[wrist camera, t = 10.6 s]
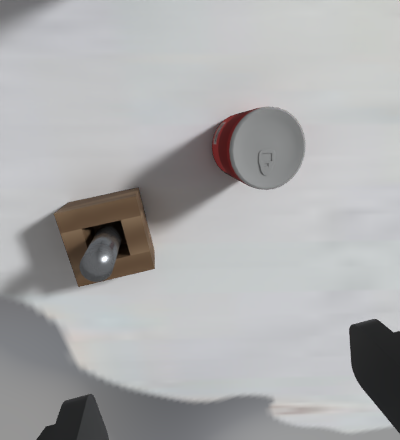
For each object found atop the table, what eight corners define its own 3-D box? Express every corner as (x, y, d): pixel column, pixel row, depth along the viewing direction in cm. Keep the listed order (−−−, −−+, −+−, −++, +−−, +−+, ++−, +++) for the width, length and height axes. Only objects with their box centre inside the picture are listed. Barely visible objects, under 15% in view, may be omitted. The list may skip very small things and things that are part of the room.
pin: (97, 221, 40) (75, 255, 28) (120, 216, 40) (108, 248, 29) (103, 243, 41) (84, 285, 29) (126, 238, 41) (116, 277, 29)
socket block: (68, 202, 40) (53, 213, 34) (138, 187, 40) (135, 195, 35) (88, 266, 42) (78, 286, 36) (154, 251, 43) (154, 268, 37)
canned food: (219, 183, 42) (241, 200, 31) (203, 123, 39) (221, 119, 29) (273, 166, 42) (312, 177, 32) (260, 106, 40) (298, 96, 29)
